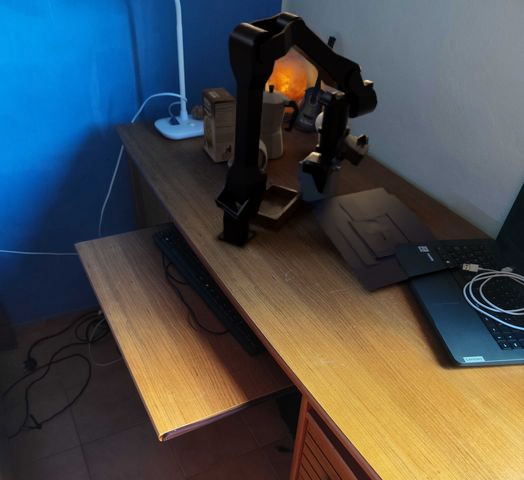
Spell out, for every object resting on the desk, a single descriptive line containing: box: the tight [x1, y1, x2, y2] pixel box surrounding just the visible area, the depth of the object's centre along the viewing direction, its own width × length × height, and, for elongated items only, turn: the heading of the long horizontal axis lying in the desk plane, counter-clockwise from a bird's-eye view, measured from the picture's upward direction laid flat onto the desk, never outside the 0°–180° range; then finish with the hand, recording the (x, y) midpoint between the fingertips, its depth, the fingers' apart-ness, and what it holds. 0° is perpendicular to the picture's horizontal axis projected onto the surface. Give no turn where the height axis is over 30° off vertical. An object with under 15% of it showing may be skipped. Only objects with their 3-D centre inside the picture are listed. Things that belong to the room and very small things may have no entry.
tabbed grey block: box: [297, 151, 344, 204], centre depth 115 cm, size 6×11×10 cm, turn 58°
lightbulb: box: [314, 112, 323, 142], centre depth 134 cm, size 6×6×11 cm
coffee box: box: [201, 87, 236, 163], centre depth 127 cm, size 9×6×16 cm
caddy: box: [250, 182, 303, 232], centre depth 113 cm, size 15×9×3 cm, turn 152°
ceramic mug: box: [227, 140, 268, 171], centre depth 125 cm, size 11×8×8 cm
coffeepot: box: [260, 84, 301, 160], centre depth 129 cm, size 15×9×18 cm, turn 60°
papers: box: [309, 187, 440, 292], centre depth 106 cm, size 24×30×4 cm
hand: (325, 187), depth 115 cm, fingers closed on tabbed grey block, 6 cm apart
